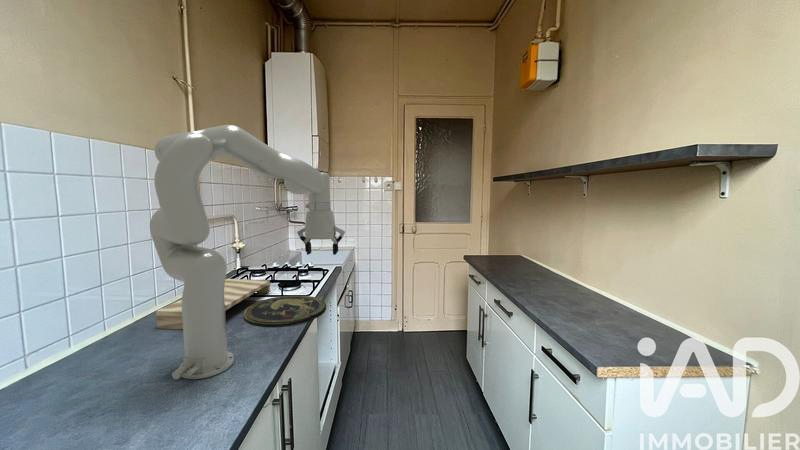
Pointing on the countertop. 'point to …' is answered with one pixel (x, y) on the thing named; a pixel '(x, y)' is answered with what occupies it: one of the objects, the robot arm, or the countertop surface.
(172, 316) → the low shelf
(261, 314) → the decorative plate
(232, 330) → the countertop surface
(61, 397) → the countertop surface
